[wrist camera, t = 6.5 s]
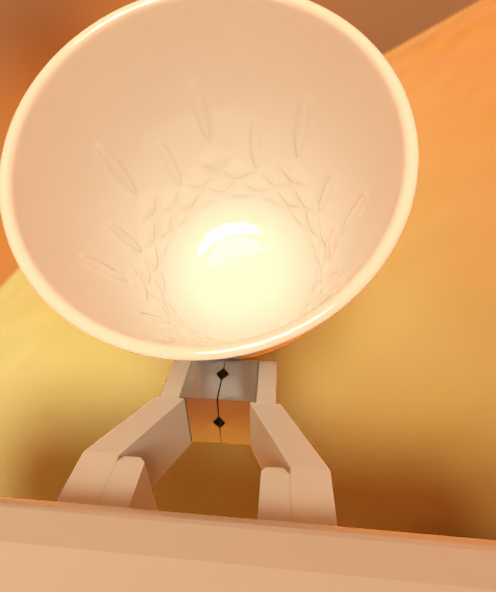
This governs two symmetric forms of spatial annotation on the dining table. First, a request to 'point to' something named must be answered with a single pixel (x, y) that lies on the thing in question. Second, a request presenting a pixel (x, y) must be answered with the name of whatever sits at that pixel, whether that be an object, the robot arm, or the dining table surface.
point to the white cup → (208, 175)
